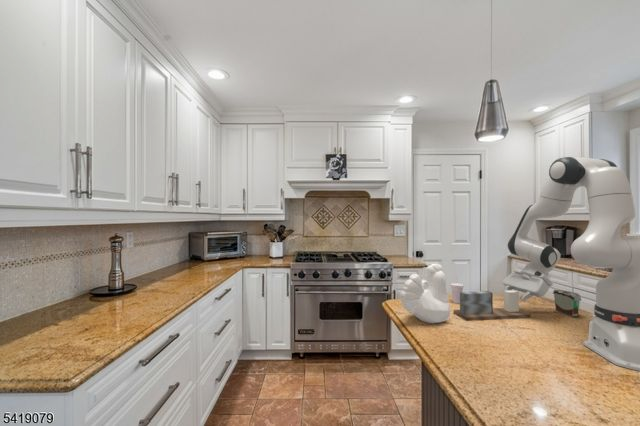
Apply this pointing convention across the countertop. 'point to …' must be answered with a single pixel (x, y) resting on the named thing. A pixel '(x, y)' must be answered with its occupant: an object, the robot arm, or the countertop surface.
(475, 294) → the stand
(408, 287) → the decorative rooster
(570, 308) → the food container
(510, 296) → the white cylinder
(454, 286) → the smoothie
